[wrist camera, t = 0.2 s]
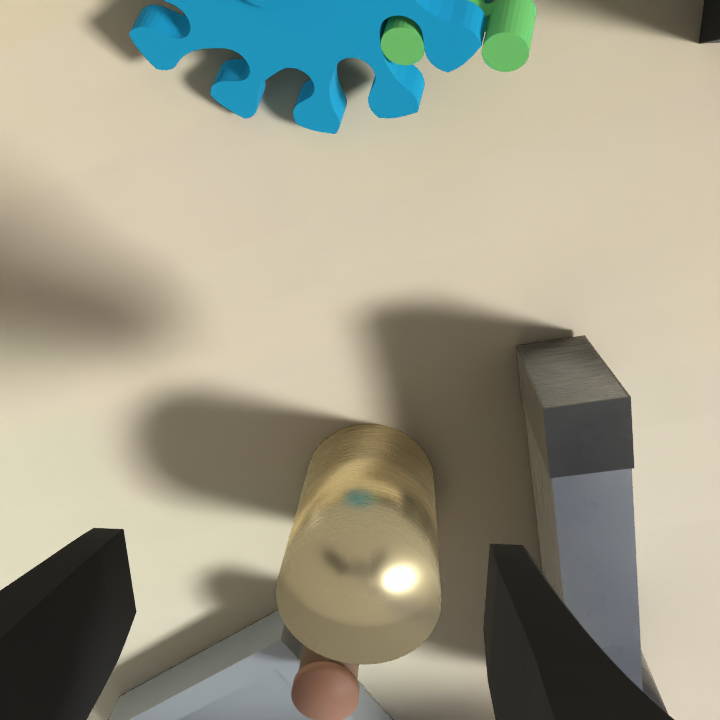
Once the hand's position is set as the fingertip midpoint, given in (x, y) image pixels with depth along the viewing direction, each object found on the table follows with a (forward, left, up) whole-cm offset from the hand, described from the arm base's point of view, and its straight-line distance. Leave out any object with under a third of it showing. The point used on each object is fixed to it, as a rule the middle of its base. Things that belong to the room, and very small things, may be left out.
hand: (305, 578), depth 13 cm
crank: (-9, -3, -9) cm, 13 cm away
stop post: (-7, +6, -10) cm, 13 cm away
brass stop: (-3, +2, -10) cm, 10 cm away
